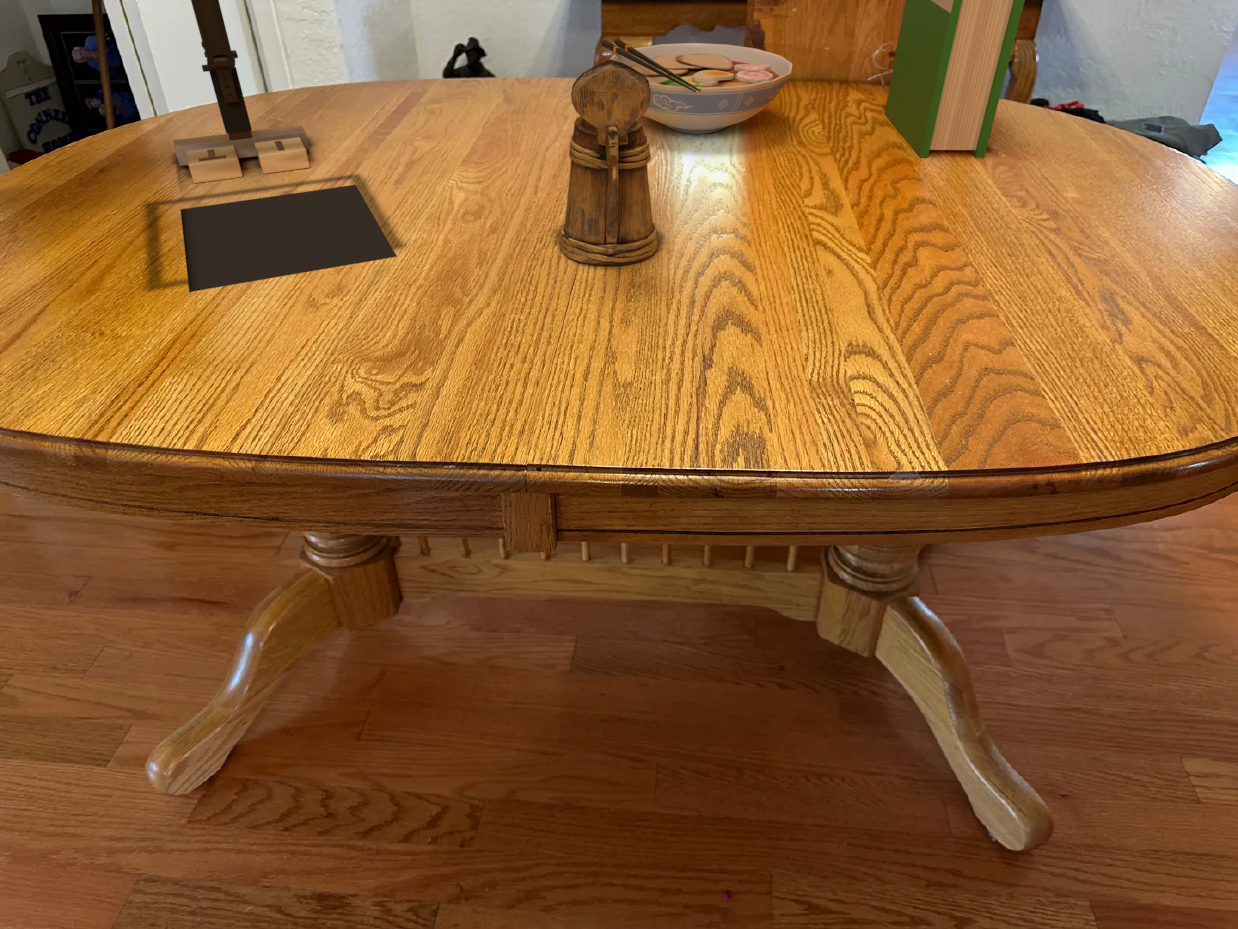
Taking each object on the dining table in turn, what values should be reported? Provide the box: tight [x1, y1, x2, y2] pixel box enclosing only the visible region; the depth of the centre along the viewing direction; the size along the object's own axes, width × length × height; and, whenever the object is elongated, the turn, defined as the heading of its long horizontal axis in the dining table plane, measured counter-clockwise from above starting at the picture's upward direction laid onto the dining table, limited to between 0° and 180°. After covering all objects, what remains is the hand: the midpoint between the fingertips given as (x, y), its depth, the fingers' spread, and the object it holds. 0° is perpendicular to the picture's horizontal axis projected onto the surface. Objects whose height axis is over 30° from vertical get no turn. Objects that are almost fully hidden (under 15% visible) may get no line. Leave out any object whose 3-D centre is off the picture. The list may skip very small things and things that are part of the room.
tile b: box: [254, 137, 311, 175], centre depth 96 cm, size 5×5×2 cm
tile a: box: [186, 146, 243, 184], centre depth 94 cm, size 5×5×2 cm
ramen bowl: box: [600, 38, 794, 135], centre depth 106 cm, size 25×23×8 cm
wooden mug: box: [559, 58, 658, 267], centre depth 72 cm, size 9×14×18 cm, turn 2°
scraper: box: [172, 124, 310, 167], centre depth 94 cm, size 3×14×12 cm, turn 114°
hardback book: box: [884, 0, 1026, 159], centre depth 98 cm, size 18×7×24 cm, turn 179°
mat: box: [180, 184, 398, 293], centre depth 81 cm, size 20×20×1 cm
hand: (237, 126), depth 96 cm, fingers closed on scraper, 2 cm apart
